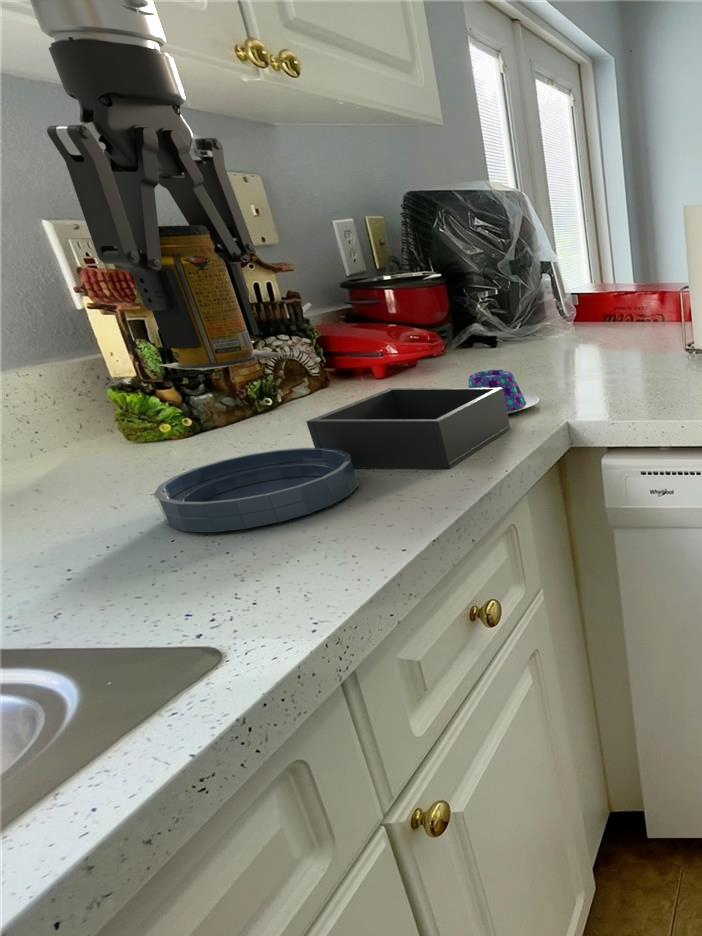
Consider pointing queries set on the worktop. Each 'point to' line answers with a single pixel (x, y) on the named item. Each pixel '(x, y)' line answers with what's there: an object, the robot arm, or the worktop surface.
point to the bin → (414, 427)
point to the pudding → (510, 388)
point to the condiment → (206, 301)
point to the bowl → (256, 489)
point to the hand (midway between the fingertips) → (215, 340)
